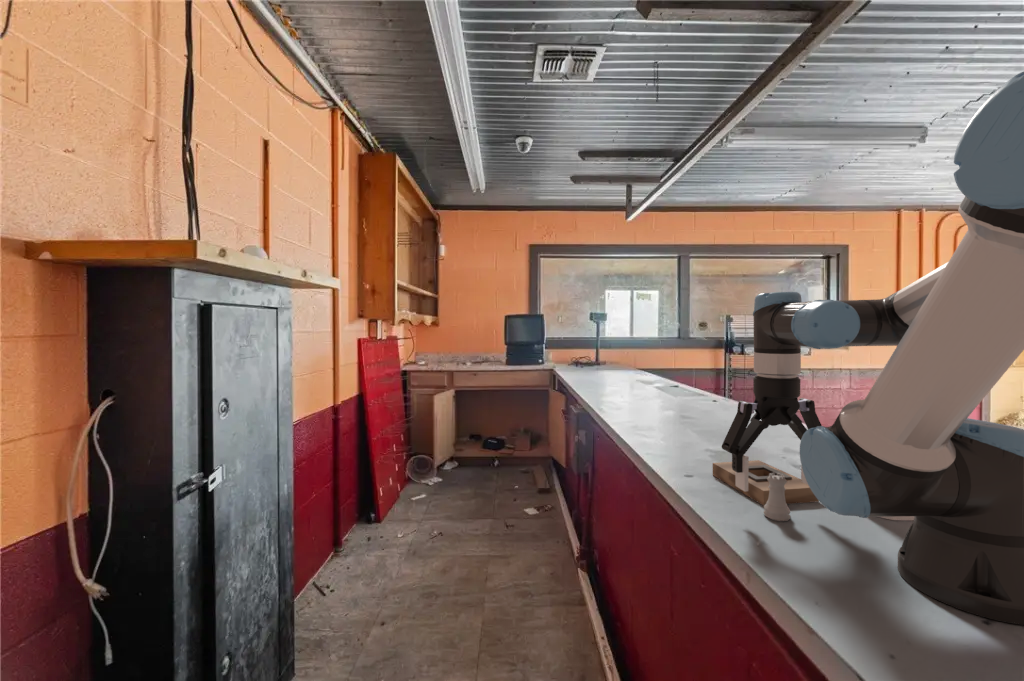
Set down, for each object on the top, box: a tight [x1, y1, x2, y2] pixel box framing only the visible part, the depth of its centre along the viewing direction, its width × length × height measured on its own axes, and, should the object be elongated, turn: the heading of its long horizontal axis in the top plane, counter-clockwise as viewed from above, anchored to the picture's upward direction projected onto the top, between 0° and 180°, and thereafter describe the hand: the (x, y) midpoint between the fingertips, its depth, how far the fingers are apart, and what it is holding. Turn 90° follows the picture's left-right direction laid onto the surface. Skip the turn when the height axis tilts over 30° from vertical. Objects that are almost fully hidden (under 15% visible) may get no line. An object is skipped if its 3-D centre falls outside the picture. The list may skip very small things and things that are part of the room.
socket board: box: [712, 459, 820, 506], centre depth 96 cm, size 18×12×4 cm, turn 6°
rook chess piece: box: [763, 473, 792, 522], centre depth 81 cm, size 4×4×8 cm
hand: (775, 486), depth 82 cm, fingers open, 13 cm apart
